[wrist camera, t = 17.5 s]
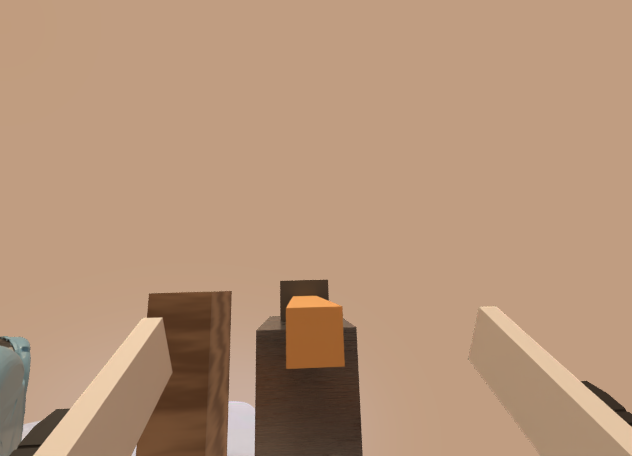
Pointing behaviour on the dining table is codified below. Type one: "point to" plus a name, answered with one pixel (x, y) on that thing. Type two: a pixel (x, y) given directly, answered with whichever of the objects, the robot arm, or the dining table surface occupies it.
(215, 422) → the walnut post
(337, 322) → the orange bar
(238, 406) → the dining table surface
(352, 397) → the charcoal post
